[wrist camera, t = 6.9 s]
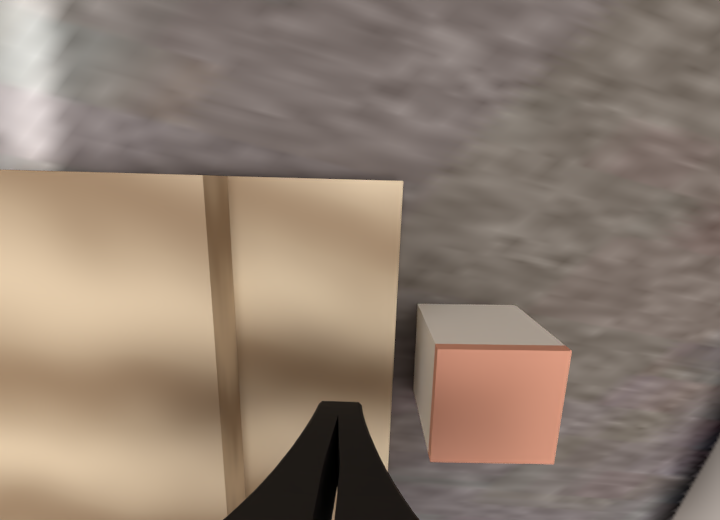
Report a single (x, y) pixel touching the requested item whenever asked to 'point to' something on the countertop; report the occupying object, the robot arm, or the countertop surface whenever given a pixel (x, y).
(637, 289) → the countertop surface
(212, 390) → the step
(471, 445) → the white cube
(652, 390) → the countertop surface
